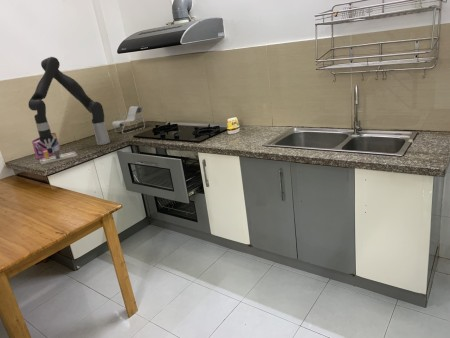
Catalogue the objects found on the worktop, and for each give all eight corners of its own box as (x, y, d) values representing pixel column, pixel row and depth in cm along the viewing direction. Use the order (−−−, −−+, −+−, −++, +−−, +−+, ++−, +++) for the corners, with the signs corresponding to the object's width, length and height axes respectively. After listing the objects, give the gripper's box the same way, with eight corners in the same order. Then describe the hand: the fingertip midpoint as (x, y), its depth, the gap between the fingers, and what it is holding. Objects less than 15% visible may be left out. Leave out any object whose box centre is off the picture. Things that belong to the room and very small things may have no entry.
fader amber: (48, 157, 253) (46, 150, 251) (49, 158, 250) (47, 151, 248) (45, 158, 252) (43, 151, 250) (45, 159, 249) (43, 152, 247)
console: (74, 152, 263) (74, 150, 262) (77, 155, 253) (77, 153, 252) (39, 160, 252) (39, 158, 251) (41, 164, 242) (40, 162, 241)
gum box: (46, 158, 256) (40, 140, 251) (35, 159, 256) (29, 141, 252) (60, 149, 279) (56, 132, 274) (50, 150, 279) (46, 133, 274)
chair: (146, 127, 320) (141, 106, 313) (121, 134, 304) (116, 112, 297) (138, 126, 329) (134, 105, 323) (114, 133, 313) (109, 111, 307)
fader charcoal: (59, 156, 251) (57, 149, 249) (60, 157, 248) (58, 150, 246) (55, 157, 250) (53, 150, 248) (56, 158, 247) (54, 151, 245)
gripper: (53, 126, 246) (60, 150, 252) (32, 130, 240) (40, 154, 246) (54, 127, 240) (61, 152, 245) (33, 132, 234) (40, 156, 239)
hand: (50, 153), depth 245 cm, fingers closed
